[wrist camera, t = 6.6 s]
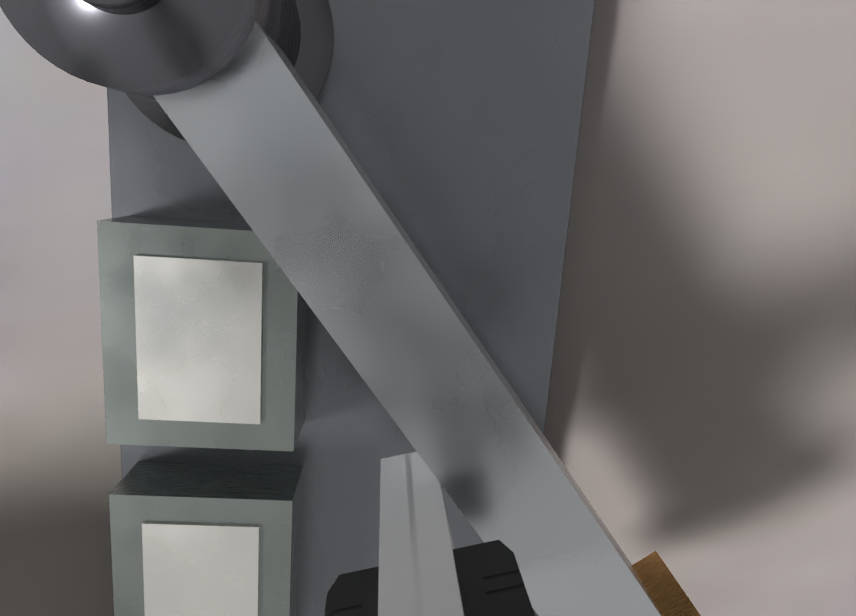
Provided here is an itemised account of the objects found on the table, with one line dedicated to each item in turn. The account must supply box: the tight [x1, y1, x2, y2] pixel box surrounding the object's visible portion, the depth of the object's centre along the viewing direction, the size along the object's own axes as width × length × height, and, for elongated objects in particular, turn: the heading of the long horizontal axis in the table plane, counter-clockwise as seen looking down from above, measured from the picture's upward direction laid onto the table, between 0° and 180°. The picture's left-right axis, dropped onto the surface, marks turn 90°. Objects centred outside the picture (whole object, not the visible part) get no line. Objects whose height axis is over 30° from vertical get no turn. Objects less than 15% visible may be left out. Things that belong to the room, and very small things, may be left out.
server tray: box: [97, 0, 595, 616], centre depth 18 cm, size 26×13×3 cm, turn 176°
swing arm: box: [0, 0, 700, 616], centre depth 15 cm, size 22×4×7 cm, turn 34°
